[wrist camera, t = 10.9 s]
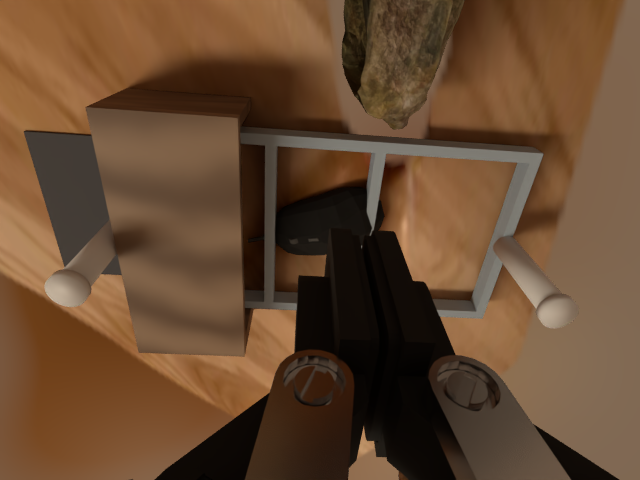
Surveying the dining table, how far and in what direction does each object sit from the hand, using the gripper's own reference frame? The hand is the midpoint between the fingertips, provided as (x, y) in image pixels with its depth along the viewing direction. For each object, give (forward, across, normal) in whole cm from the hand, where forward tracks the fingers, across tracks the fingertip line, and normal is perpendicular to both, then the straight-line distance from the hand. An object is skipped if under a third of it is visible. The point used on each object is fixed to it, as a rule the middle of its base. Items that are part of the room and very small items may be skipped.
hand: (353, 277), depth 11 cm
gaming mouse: (+29, 0, +14) cm, 32 cm away
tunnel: (+29, +12, +14) cm, 34 cm away
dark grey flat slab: (+29, +24, +14) cm, 40 cm away
